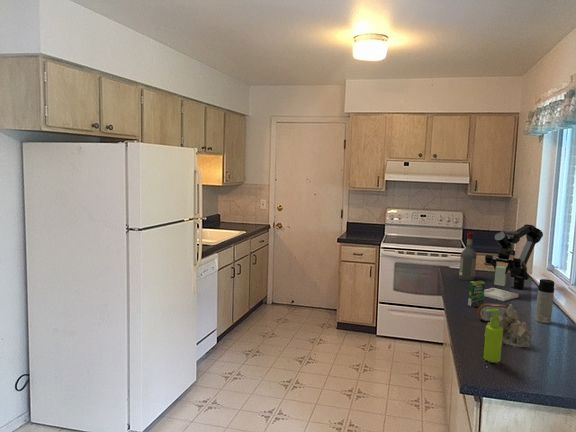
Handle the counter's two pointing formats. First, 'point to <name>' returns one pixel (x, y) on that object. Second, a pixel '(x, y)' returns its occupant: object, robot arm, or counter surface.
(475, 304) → the coffee box
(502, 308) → the tin
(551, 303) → the spray can
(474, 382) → the counter surface
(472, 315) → the counter surface
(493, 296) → the tray
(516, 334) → the grey brown jagged piece
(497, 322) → the soap dispenser
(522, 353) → the counter surface
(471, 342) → the counter surface
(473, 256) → the liquor
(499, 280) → the block
